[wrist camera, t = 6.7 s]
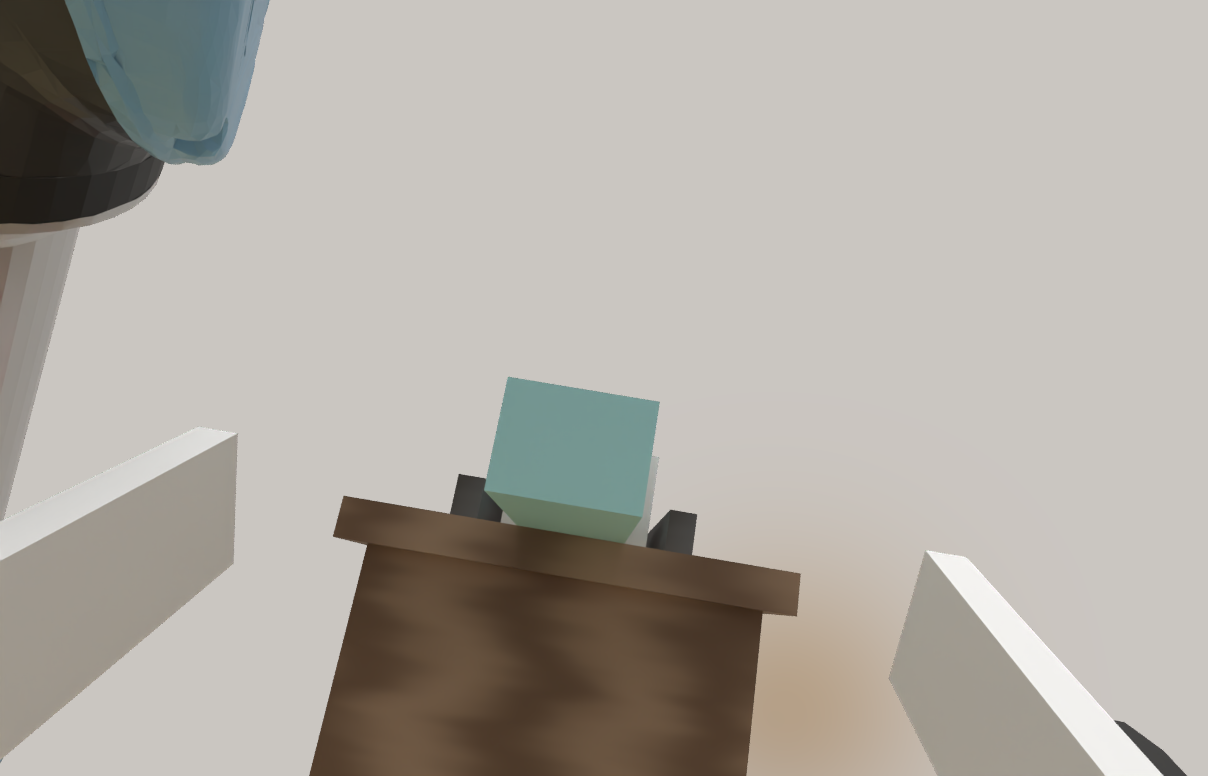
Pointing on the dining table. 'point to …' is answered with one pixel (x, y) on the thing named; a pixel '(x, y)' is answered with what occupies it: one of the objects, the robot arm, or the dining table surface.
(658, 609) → the wood-grain storage bin
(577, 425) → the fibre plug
